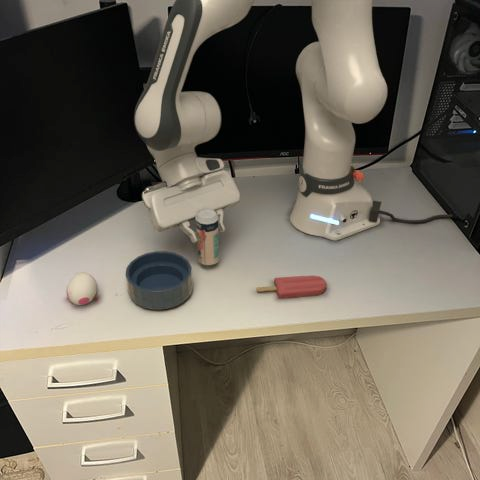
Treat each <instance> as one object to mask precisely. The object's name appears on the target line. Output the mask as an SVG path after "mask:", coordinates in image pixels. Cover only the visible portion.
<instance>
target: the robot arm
mask: <svg viewBox="0 0 480 480" xmlns="http://www.w3.org/2000/svg"><path fill="white" fill-rule="evenodd" d="M254 2H255V0H175V1H174V3H173V4H172V7H171V9H170V11H169V14H168V17H167V19H166V23H165V25H164V27H163V31H162V34H161V37H160V41H159V43H158V48H157V50H156V53H155V57H154V60H153V63H152V67H151V70H150V73H149V76H148V79H147V82H146V84H145V87H144V89H143V91H142V92H141V94H140V97H138V100H137V103H136V105H135V108H134V113H133V123H134V127H135V128H134V129H135V130H136V133H137V135H138V136H139V138H140V139H141V141H142V142H143V143H144V144H145V146H146V147H147V150H148V151H149V153H150V155H151V156H152V157H153V159H154V160H155V165H156V170H157V173H158V174H159V177H160V179H161V182H158V183H156V184H154V185H149V186H147V187H145V189H144V190H143V191H142V193H141V200H142V202H143V204H144V206H145V207H146V209H147V211H148V214H149V217H150V221H151V224H152V226H153V228H154V230H155V231H157V232H159V233H162V232H164V231H167V230H170V229H173V228H175V227H178V226H179V228H180V230H181V231H182V232H183V233H184V234H185V235H187V236H188V237H189V238H190V241H191V243H192V244H195V243H197V242H198V241H200V240H201V237H200V236H199V233H198V232H197V231H194V230H192V229H191V228H190V226H191V224H190V222H192V221H196V218H195V217H196V215H197V213H198V211H200V210H201V209H206V208H208V209H213V210H214V211H216V213H217V215H218V233H219V234H221V233H223V232H225V231H226V227H225V225H224V223H223V221H224V214H225V213H224V211H223V210H225V209H227V208H231V207H233V206H235V205H237V204H238V203H239V202H240V199H241V193H240V190H239V188H238V186H237V184H236V182H235V180H234V179H233V176H232V175H231V174H230V173H229V171H227V170H224V168H225V163H224V161H223V160H222V159H221V158H210V157H200V156H199V157H198V155H197V152H196V149H195V148H196V147H197V146H198V145H200V144H204V143H207V142H209V141H210V140H212V139H215V137H217V135H218V134H219V132H220V129H221V127H222V121H223V120H222V119H223V118H222V117H223V116H222V110H221V107H220V104H219V103H218V101H217V99H216V98H215V97H214V96H213V95H212V94H211V93H209V92H206V91H200V90H199V91H197V90H195V91H193V90H192V91H191V90H189V91H182V90H183V87H184V84H185V81H186V79H187V76H188V73H189V69H190V67H191V64H192V61H193V59H194V58H193V57H194V55H195V53H196V52H197V50H198V49H199V47H200V46H201V45H202V44H203V43H204V42H205V41H207V39H209V38H211V37H212V36H213V35H216V34H217V33H219V32H221V31H224V30H225V29H228V28H231V27H233V26H234V25H235V26H236V24H238V23H240V22H241V21H242V20H243V19H244V18H246V16H247V15H248V14H249V12H250V10H251V8H252V6H253V4H254ZM311 23H312V26H313V29H314V31H315V33H316V36H317V40H318V41H314V42H312V43H310V44H308V45H306V47H304V48H303V49H302V51H301V52H300V54H299V55H298V57H297V60H296V64H295V75H296V78H297V80H298V84H299V87H300V92H301V99H302V100H301V101H302V108H303V109H302V110H303V118H304V119H303V120H304V148H303V157H302V163H301V165H300V168H299V175H298V192H297V195H296V200H295V203H294V206H293V208H292V211H291V213H290V215H289V221H290V223H291V224H292V226H293V227H294V228H295V229H297V230H298V231H300V232H302V233H304V234H307V235H311V236H317V237H322V238H325V239H328V240H330V241H340V240H342V239H345V238H347V237H350V236H353V235H355V234H359V233H361V232H363V231H366V230H368V229H371V228H374V227H377V226H379V225H380V223H381V217H380V215H383V216H386V217H390V219H391V220H392V221H394V222H397V223H403V224H423V223H429V222H431V221H433V220H436V219H446V218H448V219H449V218H455V219H456V217H453V216H452V214H453V213H452V214H451V213H450V214H448V213H447V214H436V215H432V216H430V217H428V218H424V219H402V218H399V217H398V218H397V217H395V216H394V214H393V213H390V212H389V211H384V210H381V204H382V201H378V200H373V198H372V196H371V194H370V193H369V191H367V189H366V188H365V187H364V186H362V185H361V184H360V182H363V180H364V178H365V174H364V173H363V172H361V170H358V169H357V170H356V168H355V167H354V166H353V165H352V161H353V156H354V150H355V146H356V133H355V129H354V126H353V124H357V125H358V124H359V125H360V124H365V123H368V122H370V121H371V120H374V118H376V117H377V116H378V115H379V113H381V111H382V109H383V108H384V106H385V104H386V101H387V98H388V85H387V83H386V80H385V77H384V75H383V73H382V71H381V68H380V64H379V60H378V55H377V50H376V49H377V48H376V44H375V38H374V37H375V36H374V27H373V0H311ZM379 214H380V215H379Z"/></svg>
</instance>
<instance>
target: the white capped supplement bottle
mask: <svg viewBox="0 0 480 480" xmlns="http://www.w3.org/2000/svg"><path fill="white" fill-rule="evenodd" d="M195 218H196V219H195V226H196V232H198V233H199V236H200V237H201V240H200V241H198V242H196V243H197V244H196V246H197V262H199V263H200V264H202V265H205V266H212V265H215V264H217V263H218V262H220V261H219V260H220V247H219V246H220V242H219V241H220V239H219V237H220V236H219V234H220V233H218V215H217V213H216V211H214V210H213V209H208V208H206V209H201V210H200V211H198V213H197V215H196V217H195Z"/></svg>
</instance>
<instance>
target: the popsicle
mask: <svg viewBox="0 0 480 480" xmlns="http://www.w3.org/2000/svg"><path fill="white" fill-rule="evenodd" d="M273 284H274V285H272V286H260V287H259V286H258V287H257V288H256V292H259V293H260V292H273V291H274V292H275V291H276V294H277V298H278V299H290V298H300V297H303V298H304V297H313V296H320V295H322V294H324V293H325V291H327V286H328V284H327V281H326V280H325V278H323V277H321V276H319V275H298V276H284V277H283V276H281V277H275V278H274V280H273Z"/></svg>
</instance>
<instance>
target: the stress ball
mask: <svg viewBox="0 0 480 480" xmlns="http://www.w3.org/2000/svg"><path fill="white" fill-rule="evenodd" d="M65 290H66V291H65V292H66V296H67V300H69V301H70V302H71V303H72V304H74V305H77V306H83V305H87V304H89V302H92V300H93V299H95V300H96V301H95V302H98V299H99V297H95V296H96V295H97V293H98V292H97V291H98V283H97V280H96V278H95V277H94V275H92V274H91V273H88V272H79V273H76V274H74V275H73V276H72V277H71V278H70V279H69V281H68V283H67V285H66V289H65Z"/></svg>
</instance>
